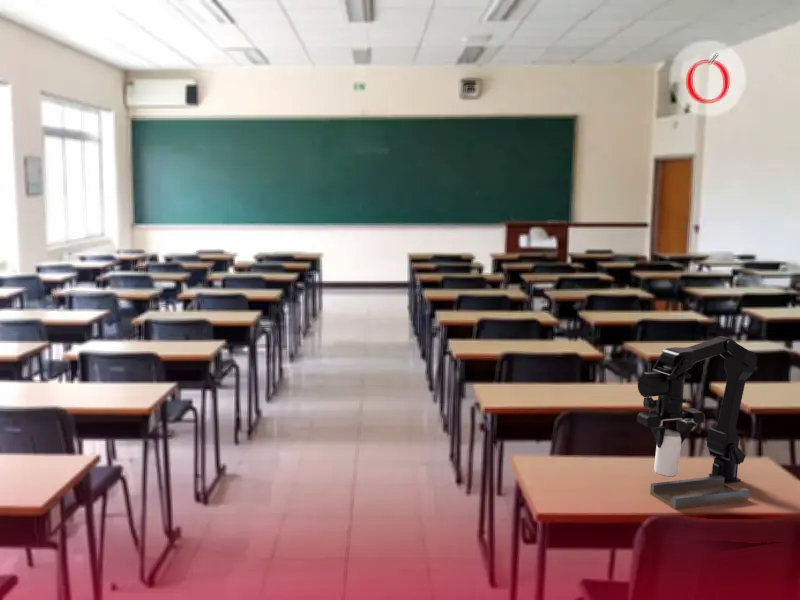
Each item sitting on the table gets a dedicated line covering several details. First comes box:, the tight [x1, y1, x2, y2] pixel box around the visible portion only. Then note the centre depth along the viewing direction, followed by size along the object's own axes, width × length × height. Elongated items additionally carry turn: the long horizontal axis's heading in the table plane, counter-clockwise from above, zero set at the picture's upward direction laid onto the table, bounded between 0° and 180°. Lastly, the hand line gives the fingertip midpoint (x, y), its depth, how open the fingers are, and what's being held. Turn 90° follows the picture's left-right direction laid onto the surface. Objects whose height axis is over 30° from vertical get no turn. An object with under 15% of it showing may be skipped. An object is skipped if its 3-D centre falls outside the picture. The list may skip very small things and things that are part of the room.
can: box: [653, 429, 682, 478], centre depth 214 cm, size 6×6×12 cm
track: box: [649, 476, 750, 510], centre depth 210 cm, size 24×11×3 cm, turn 108°
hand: (669, 446), depth 214 cm, fingers closed on can, 6 cm apart
